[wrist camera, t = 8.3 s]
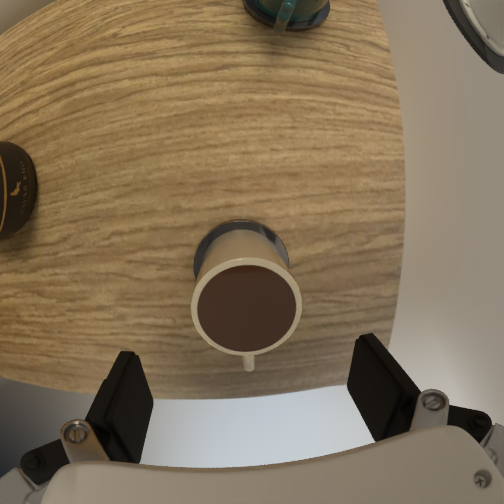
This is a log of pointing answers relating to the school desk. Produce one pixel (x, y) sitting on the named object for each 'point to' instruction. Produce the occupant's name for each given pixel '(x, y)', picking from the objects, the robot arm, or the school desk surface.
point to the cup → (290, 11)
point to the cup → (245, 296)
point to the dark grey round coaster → (238, 225)
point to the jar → (15, 188)
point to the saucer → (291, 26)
